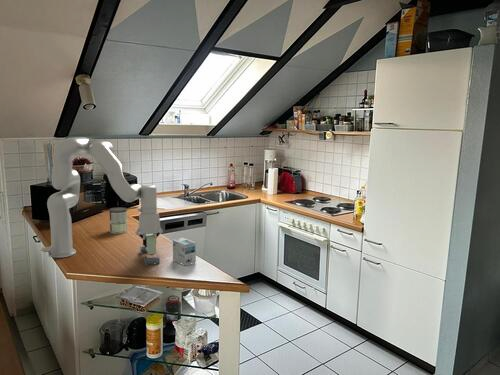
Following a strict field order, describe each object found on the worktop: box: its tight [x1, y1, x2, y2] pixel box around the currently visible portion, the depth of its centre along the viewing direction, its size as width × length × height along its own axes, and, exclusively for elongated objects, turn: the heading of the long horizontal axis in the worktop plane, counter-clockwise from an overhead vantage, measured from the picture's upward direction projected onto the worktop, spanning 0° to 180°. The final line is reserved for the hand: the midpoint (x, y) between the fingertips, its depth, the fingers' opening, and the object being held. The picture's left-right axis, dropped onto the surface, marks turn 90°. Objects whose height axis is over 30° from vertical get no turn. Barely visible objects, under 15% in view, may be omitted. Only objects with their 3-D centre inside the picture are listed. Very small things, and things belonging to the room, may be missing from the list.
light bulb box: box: [172, 237, 197, 266], centre depth 189 cm, size 11×7×11 cm, turn 46°
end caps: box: [139, 245, 160, 265], centre depth 193 cm, size 6×20×3 cm, turn 24°
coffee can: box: [108, 206, 128, 235], centre depth 236 cm, size 10×10×14 cm
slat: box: [146, 234, 157, 255], centre depth 192 cm, size 4×16×7 cm, turn 24°
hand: (149, 245), depth 192 cm, fingers closed on slat, 3 cm apart
